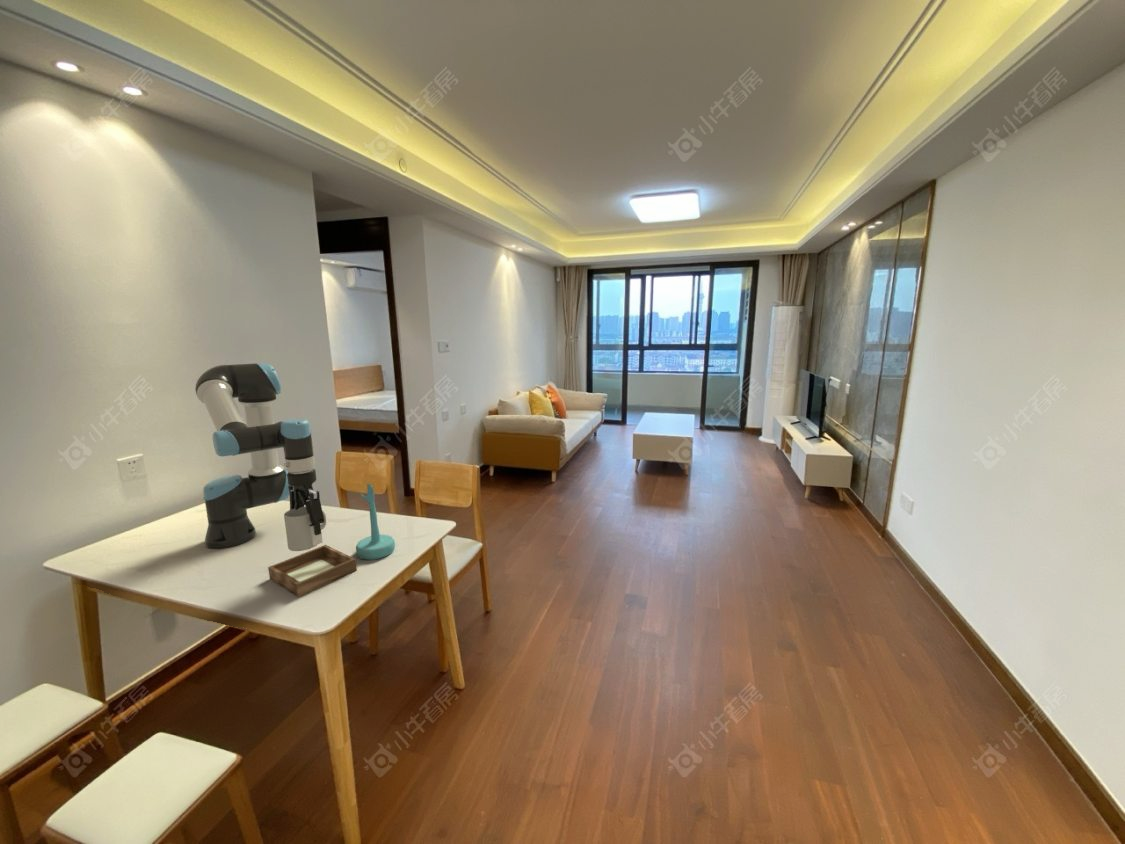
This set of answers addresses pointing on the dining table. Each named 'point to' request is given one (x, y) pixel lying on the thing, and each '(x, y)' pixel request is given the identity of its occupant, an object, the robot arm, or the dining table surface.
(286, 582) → the walnut box
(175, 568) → the dining table surface
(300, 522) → the mug
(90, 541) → the dining table surface
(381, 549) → the teal branch stand
